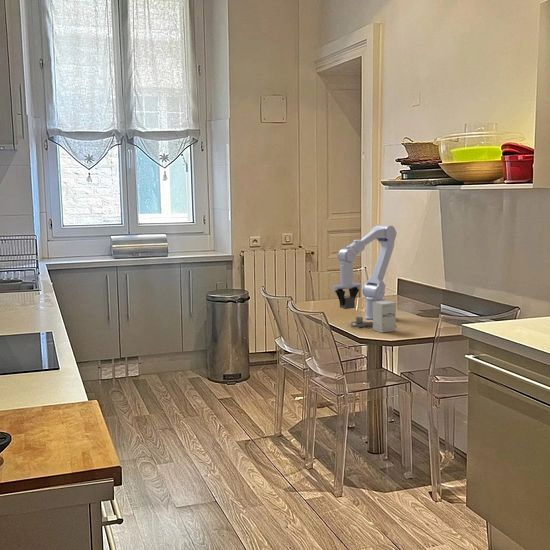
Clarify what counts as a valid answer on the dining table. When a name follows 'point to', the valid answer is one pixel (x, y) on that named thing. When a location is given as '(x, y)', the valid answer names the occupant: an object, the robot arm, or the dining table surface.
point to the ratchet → (361, 323)
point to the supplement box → (384, 316)
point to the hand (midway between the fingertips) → (347, 304)
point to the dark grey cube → (348, 302)
